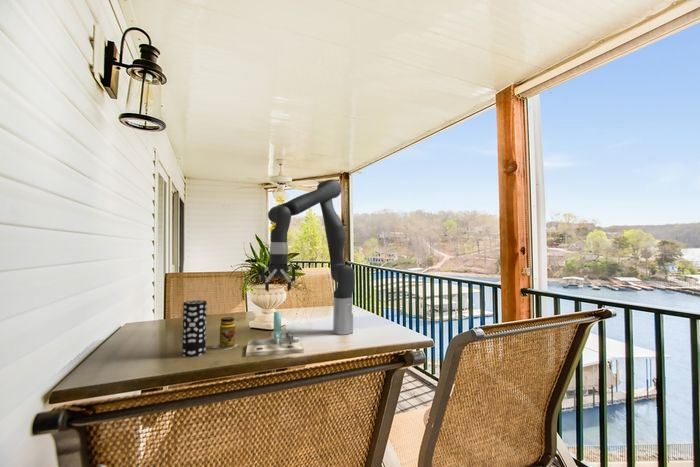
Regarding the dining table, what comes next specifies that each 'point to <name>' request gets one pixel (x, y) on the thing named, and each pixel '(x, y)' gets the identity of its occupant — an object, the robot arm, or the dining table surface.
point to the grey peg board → (275, 346)
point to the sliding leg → (277, 326)
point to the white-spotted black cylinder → (194, 328)
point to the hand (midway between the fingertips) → (278, 291)
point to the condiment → (227, 334)
